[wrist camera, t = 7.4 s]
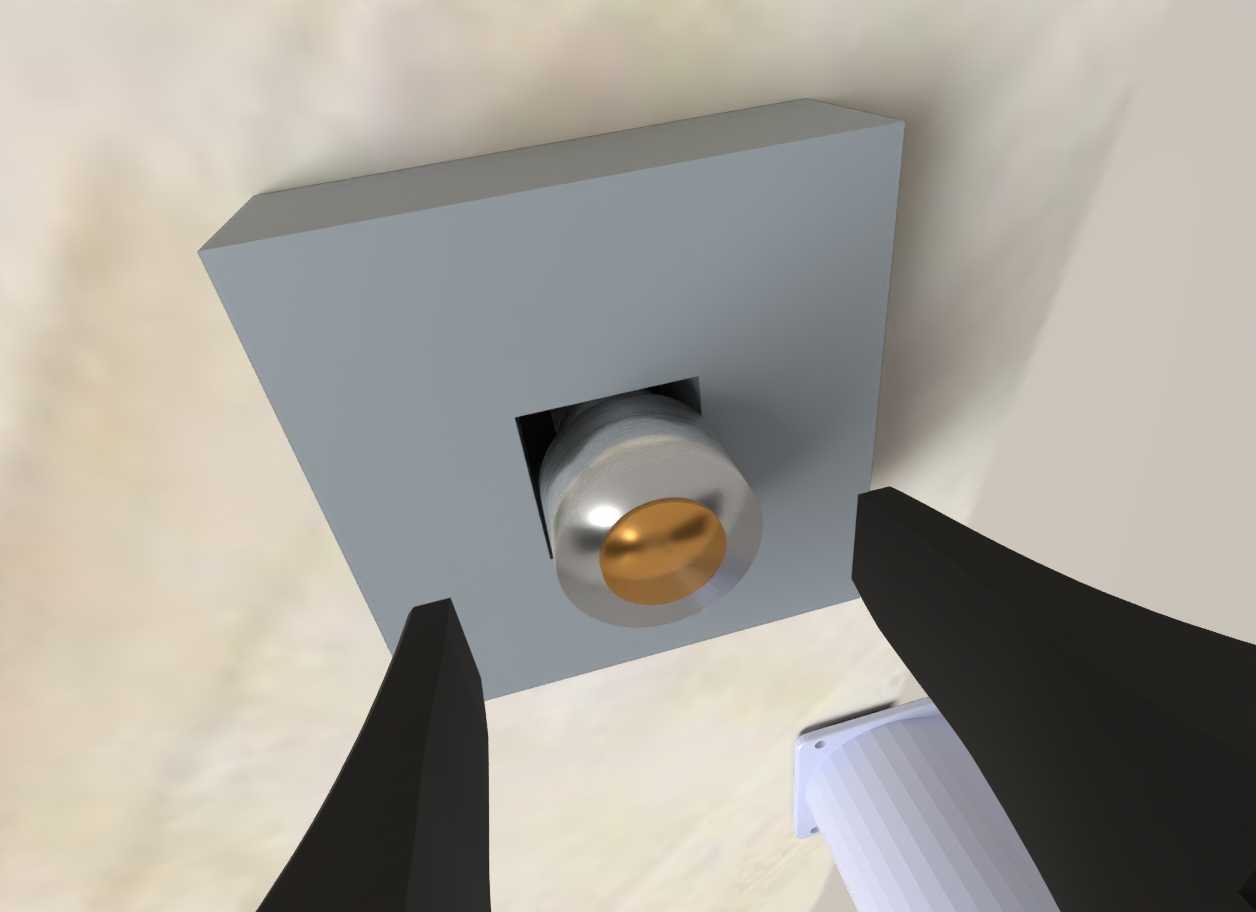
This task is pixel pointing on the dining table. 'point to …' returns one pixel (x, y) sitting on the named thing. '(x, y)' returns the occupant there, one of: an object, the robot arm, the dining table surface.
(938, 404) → the dining table surface
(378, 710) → the robot arm
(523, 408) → the block
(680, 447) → the pin
